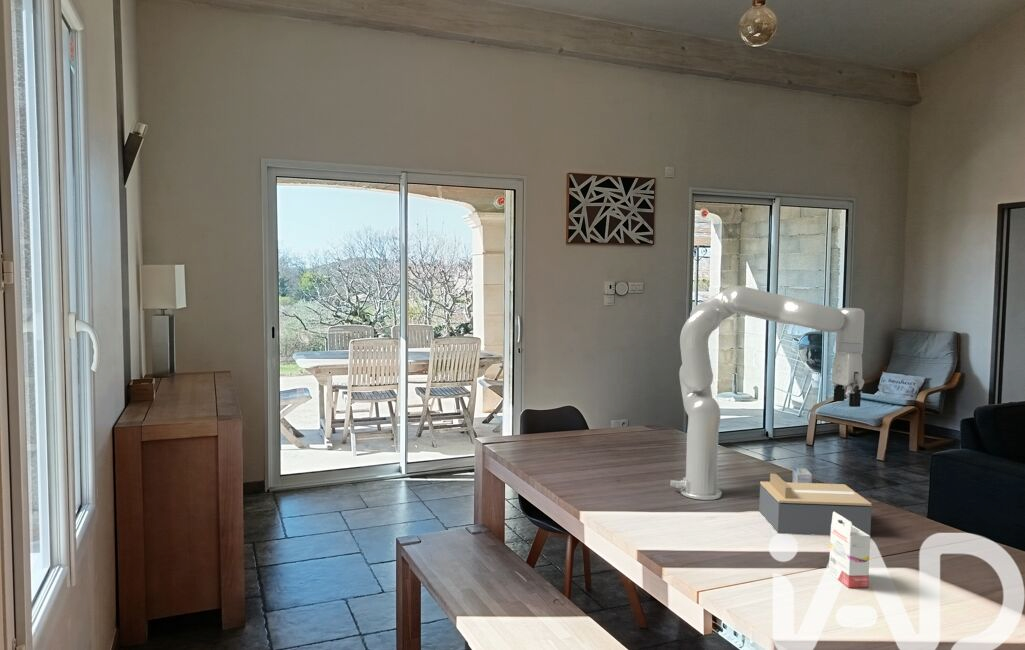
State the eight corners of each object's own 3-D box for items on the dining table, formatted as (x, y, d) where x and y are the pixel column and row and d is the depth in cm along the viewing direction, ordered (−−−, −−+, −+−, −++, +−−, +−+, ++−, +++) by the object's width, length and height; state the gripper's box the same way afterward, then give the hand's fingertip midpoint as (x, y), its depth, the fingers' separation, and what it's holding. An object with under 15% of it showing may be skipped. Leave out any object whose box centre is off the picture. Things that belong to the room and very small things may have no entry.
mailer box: (777, 533, 189) (778, 503, 189) (759, 511, 207) (760, 484, 207) (870, 536, 188) (871, 507, 187) (843, 514, 206) (844, 487, 205)
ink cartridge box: (869, 588, 156) (872, 522, 155) (848, 588, 155) (851, 523, 155) (848, 572, 164) (850, 510, 163) (827, 572, 164) (830, 510, 163)
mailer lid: (778, 502, 189) (779, 489, 189) (760, 483, 207) (760, 471, 206) (871, 505, 187) (872, 492, 187) (844, 486, 205) (845, 474, 205)
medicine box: (811, 502, 217) (812, 474, 216) (796, 501, 218) (797, 473, 217) (806, 494, 224) (807, 468, 224) (791, 493, 225) (792, 467, 225)
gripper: (823, 345, 224) (821, 398, 225) (851, 350, 207) (848, 408, 208) (847, 345, 224) (844, 399, 225) (876, 351, 207) (873, 409, 208)
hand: (846, 403), depth 217 cm, fingers open, 9 cm apart
